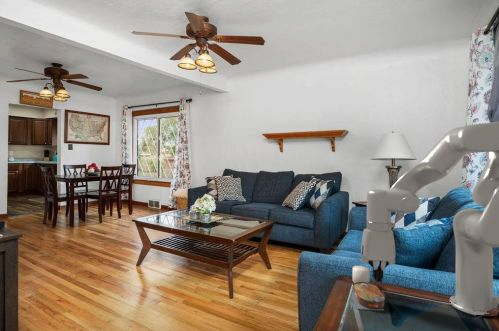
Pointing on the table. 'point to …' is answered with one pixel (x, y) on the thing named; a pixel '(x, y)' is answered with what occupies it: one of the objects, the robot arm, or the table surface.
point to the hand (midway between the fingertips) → (377, 280)
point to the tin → (368, 295)
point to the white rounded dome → (360, 274)
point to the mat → (361, 305)
